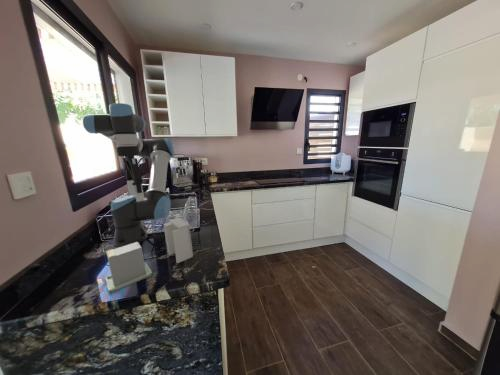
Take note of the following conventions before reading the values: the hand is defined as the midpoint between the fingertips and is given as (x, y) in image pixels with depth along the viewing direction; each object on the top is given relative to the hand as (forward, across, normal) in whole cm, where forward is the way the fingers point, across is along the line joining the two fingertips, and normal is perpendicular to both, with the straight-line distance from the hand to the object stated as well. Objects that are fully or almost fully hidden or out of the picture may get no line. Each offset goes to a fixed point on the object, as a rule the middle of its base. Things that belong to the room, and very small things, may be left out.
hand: (136, 197), depth 82 cm
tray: (+27, +12, -9) cm, 31 cm away
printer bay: (+27, +11, +11) cm, 31 cm away
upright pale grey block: (+26, +12, -9) cm, 30 cm away
